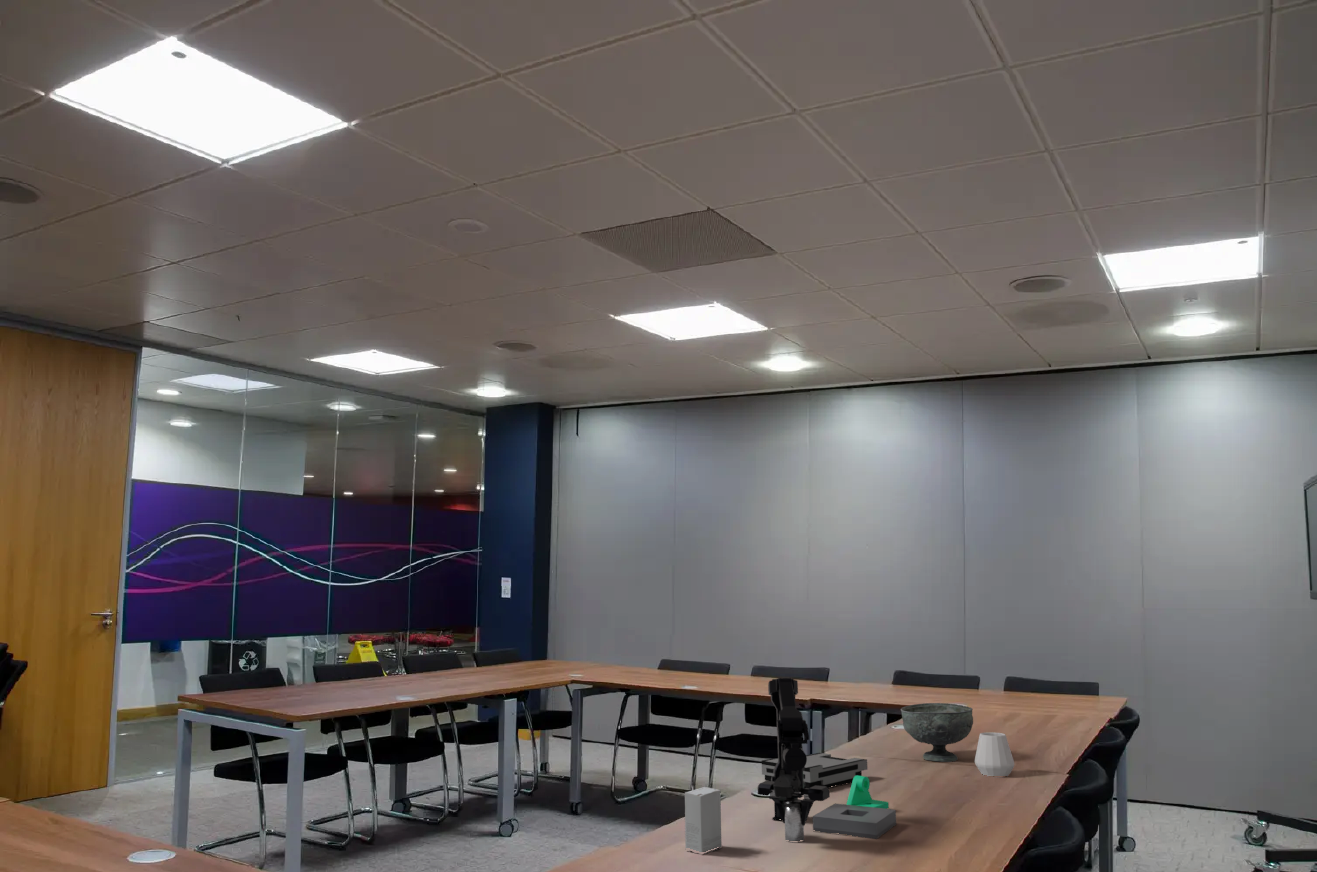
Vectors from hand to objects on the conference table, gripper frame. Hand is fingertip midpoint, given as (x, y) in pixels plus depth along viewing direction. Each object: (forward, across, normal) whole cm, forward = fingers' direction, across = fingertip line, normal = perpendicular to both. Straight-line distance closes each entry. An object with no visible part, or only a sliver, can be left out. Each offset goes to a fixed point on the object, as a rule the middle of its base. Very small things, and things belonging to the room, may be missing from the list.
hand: (794, 824), depth 262 cm
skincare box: (+4, -17, -20) cm, 27 cm away
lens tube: (+4, 0, 0) cm, 4 cm away
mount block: (+4, +10, +20) cm, 23 cm away
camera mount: (+4, +7, +40) cm, 41 cm away
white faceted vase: (+4, +29, +116) cm, 120 cm away
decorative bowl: (+4, +4, +138) cm, 138 cm away
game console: (+5, -23, +76) cm, 79 cm away
